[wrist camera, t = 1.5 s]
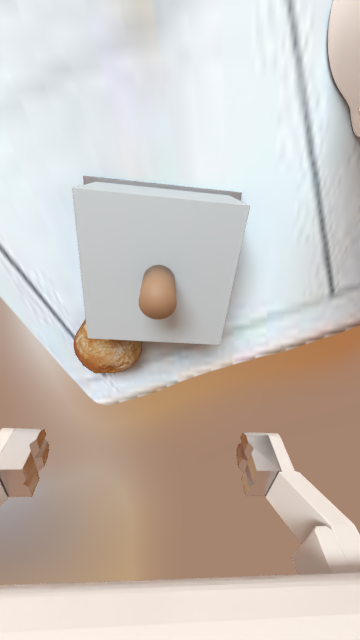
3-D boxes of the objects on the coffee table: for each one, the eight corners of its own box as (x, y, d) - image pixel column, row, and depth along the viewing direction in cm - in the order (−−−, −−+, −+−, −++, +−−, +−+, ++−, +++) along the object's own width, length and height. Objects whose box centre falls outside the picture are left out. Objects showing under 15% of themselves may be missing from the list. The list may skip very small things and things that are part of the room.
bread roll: (149, 330, 45) (162, 344, 37) (110, 377, 44) (116, 400, 37) (102, 293, 41) (107, 301, 33) (59, 344, 40) (54, 363, 33)
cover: (229, 195, 30) (269, 215, 19) (209, 309, 38) (228, 374, 26) (96, 181, 29) (48, 193, 17) (103, 302, 37) (74, 368, 25)
